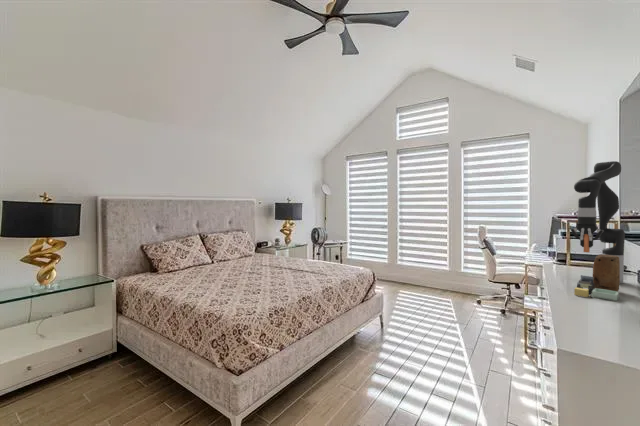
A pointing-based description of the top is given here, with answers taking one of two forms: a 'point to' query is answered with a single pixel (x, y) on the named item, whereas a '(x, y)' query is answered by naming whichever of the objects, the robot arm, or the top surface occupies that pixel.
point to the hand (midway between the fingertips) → (586, 247)
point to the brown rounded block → (606, 272)
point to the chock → (581, 292)
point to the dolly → (586, 283)
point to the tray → (605, 294)
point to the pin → (586, 243)
